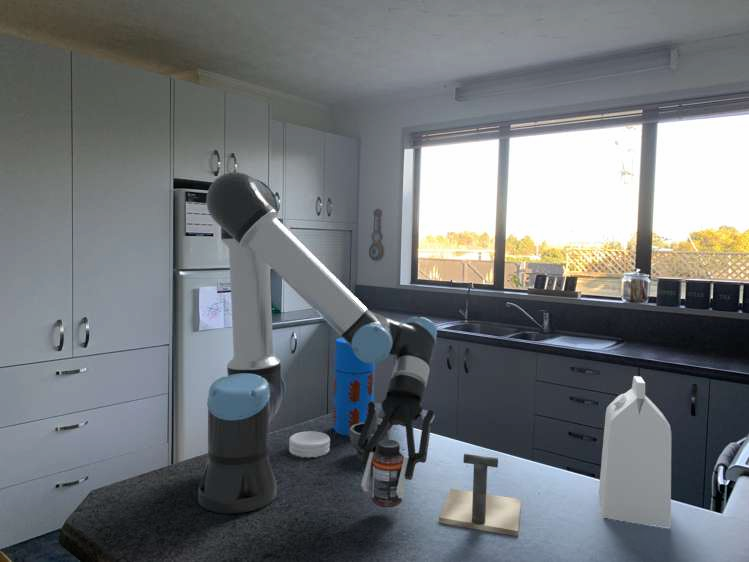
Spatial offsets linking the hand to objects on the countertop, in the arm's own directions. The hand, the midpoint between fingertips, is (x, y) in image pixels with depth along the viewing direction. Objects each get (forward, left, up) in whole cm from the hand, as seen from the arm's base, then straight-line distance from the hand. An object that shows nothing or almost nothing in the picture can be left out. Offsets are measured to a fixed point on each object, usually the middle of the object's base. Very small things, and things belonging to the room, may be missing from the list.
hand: (381, 491), depth 99 cm
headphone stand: (+17, +11, -6) cm, 21 cm away
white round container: (-27, +29, -6) cm, 40 cm away
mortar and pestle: (-12, +31, -6) cm, 33 cm away
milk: (+45, +23, -6) cm, 51 cm away
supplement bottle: (0, +4, -4) cm, 5 cm away
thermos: (-22, +47, -6) cm, 52 cm away
